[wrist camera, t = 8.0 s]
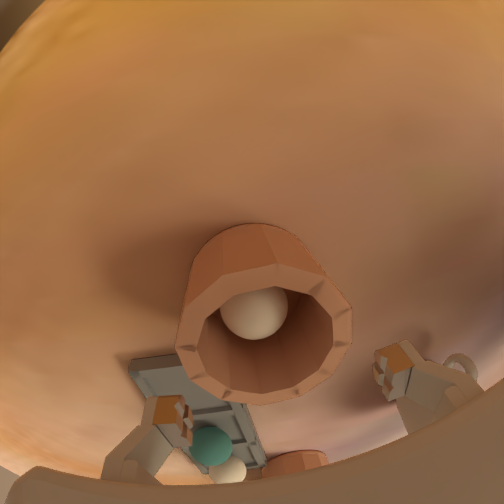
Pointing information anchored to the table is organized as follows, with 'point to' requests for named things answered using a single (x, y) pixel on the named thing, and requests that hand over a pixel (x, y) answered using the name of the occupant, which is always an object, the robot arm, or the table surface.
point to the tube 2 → (294, 463)
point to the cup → (418, 414)
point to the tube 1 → (276, 345)
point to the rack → (200, 407)
